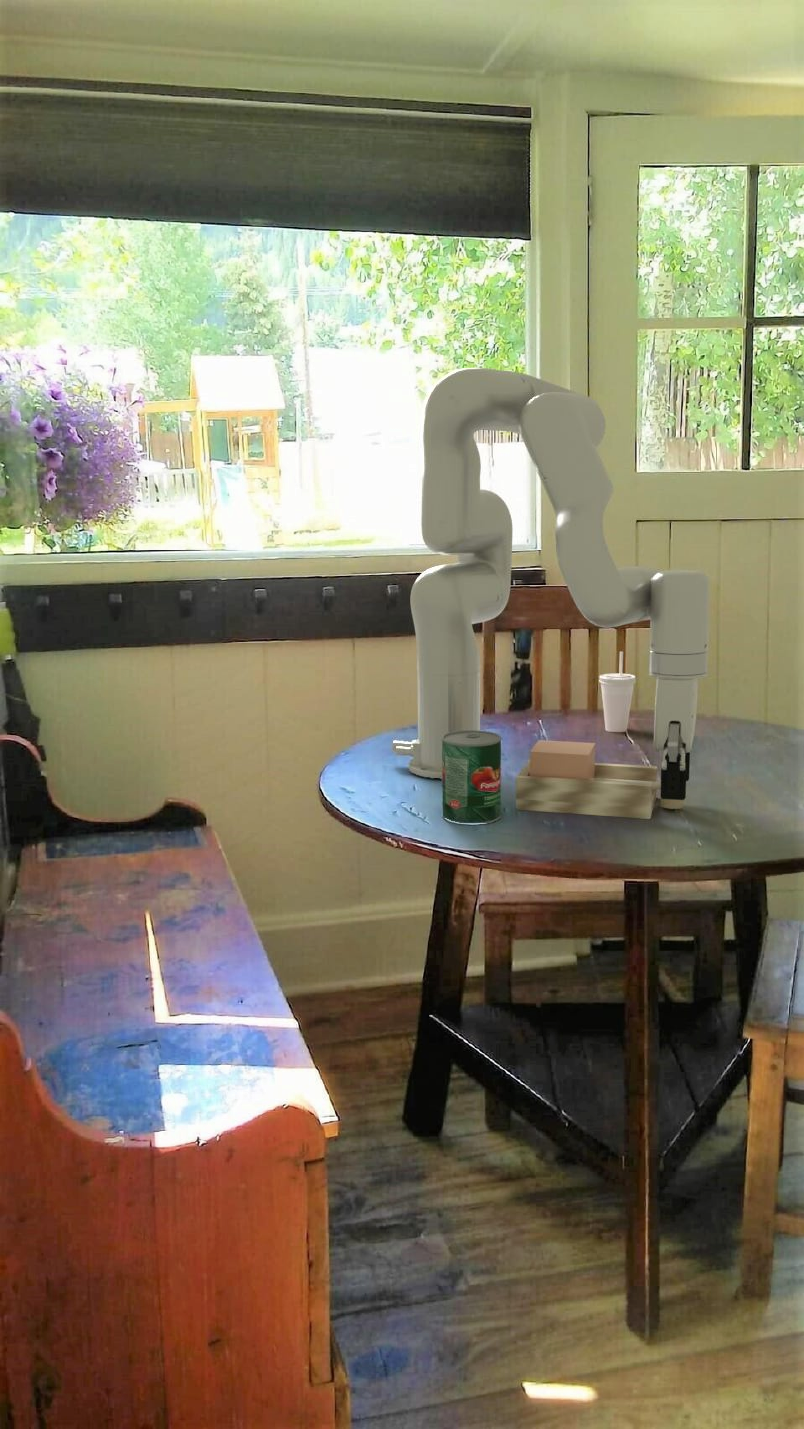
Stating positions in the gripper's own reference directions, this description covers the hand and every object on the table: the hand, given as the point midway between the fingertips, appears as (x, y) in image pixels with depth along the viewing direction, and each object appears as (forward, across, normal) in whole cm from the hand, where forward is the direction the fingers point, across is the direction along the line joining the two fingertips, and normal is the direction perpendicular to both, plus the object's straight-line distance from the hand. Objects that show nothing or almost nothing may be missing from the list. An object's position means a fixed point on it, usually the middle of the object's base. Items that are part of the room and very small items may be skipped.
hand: (675, 789), depth 155 cm
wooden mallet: (+2, 0, -9) cm, 9 cm away
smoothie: (+3, -47, -13) cm, 49 cm away
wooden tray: (+3, 0, -13) cm, 13 cm away
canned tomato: (+3, +10, -26) cm, 28 cm away
